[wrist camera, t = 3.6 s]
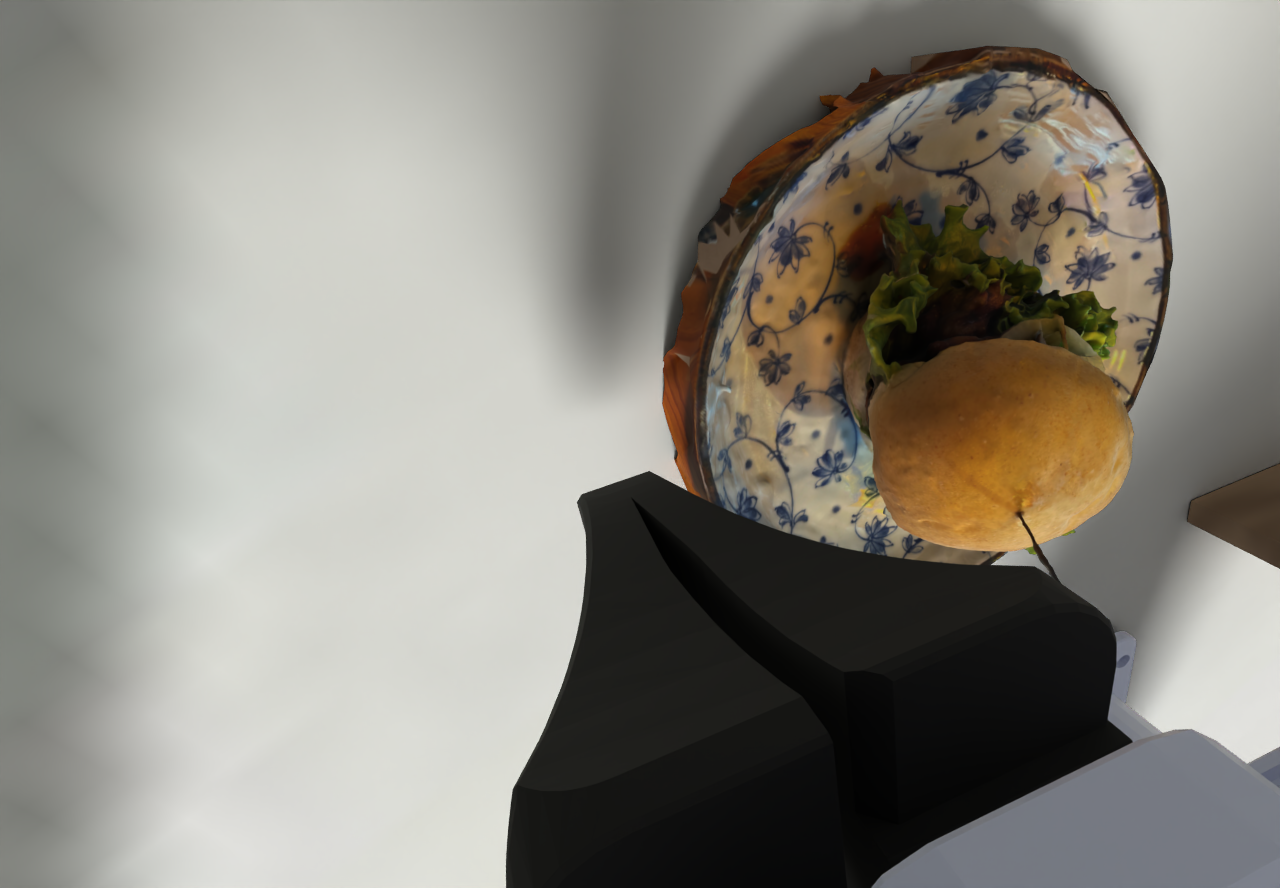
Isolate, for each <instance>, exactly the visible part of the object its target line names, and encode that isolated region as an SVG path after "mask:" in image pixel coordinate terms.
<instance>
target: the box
mask: <svg viewBox="0 0 1280 888" xmlns="http://www.w3.org/2000/svg"><path fill="white" fill-rule="evenodd" d="M1187 522H1189V523H1191V524H1193V525H1195V526H1197V527H1198V528H1200V529H1202V530H1204V531H1206V532H1208V533H1210V534H1212V535H1214V536H1216V537H1218V538H1220V539H1222V540H1224V541H1226V542H1228V543H1230V544H1232V545H1234V546H1236V547H1238V548H1240V549H1242V550H1244V551H1246V552H1248V553H1250V554H1252V555H1254V556H1256V557H1258V558H1260V559H1262V560H1264V561H1266V562H1267V563H1269V564H1271V565H1273V566H1275V567H1277V568H1279V569H1280V464H1278V465H1276V466H1273V467H1271V468H1268V469H1266V470H1264V471H1261V472H1259V473H1256V474H1254V475H1252V476H1249V477H1247V478H1244V479H1242V480H1240V481H1237V482H1235V483H1232V484H1230V485H1228V486H1225V487H1223V488H1220V489H1218V490H1216V491H1213V492H1211V493H1208V494H1206V495H1204V496H1201V497H1199V498H1196V499H1194V500H1192V501H1191V506H1190V511H1189V515H1188V520H1187Z"/></svg>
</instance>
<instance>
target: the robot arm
mask: <svg viewBox="0 0 1280 888" xmlns="http://www.w3.org/2000/svg"><path fill="white" fill-rule="evenodd" d="M577 504H578V508H579V511H580V515H581V518H582V522H583V525H584V529H585V532H586V575H585V586H584V597H583V604H582V611H581V616H580V622H579V626H578V631H577V636H576V640H575V644H574V648H573V651H572V655H571V658H570V662H569V665H568V669H567V672H566V675H565V678H564V681H563V684H562V687H561V689H560V692H559V694H558V697H557V699H556V702H555V704H554V707H553V709H552V712H551V714H550V717H549V719H548V721H547V724H546V726H545V729H544V731H543V733H542V735H541V737H540V739H539V741H538V743H537V745H536V747H535V749H534V751H533V753H532V755H531V756H530V758H529V760H528V762H527V764H526V766H525V768H524V770H523V771H522V773H521V775H520V777H519V779H518V781H517V783H516V784H515V786H514V788H513V792H512V800H511V808H510V817H509V826H508V839H507V853H506V888H1280V747H1279V748H1277V749H1275V750H1273V751H1271V752H1269V753H1267V754H1265V755H1263V756H1261V757H1259V758H1257V759H1255V760H1254V761H1252V762H1250V763H1248V764H1246V763H1245V762H1244V761H1242V760H1241V759H1240V758H1238V757H1237V756H1236V755H1234V754H1233V753H1232V752H1230V751H1229V750H1228V749H1226V748H1225V747H1224V746H1222V745H1221V744H1220V743H1218V742H1217V741H1216V740H1214V739H1211V738H1209V737H1207V736H1205V735H1203V734H1201V733H1199V732H1197V731H1194V730H1192V729H1182V730H1172V731H1169V732H1165V733H1162V732H1161V731H1160V730H1158V729H1157V728H1156V727H1155V726H1153V725H1152V724H1151V723H1149V722H1148V721H1147V720H1146V719H1144V718H1143V717H1142V716H1141V715H1139V714H1138V713H1137V712H1136V711H1134V710H1133V709H1132V708H1131V707H1129V706H1128V705H1127V704H1126V699H1127V693H1128V688H1129V682H1130V677H1131V671H1132V666H1133V661H1134V655H1135V650H1136V639H1135V638H1134V637H1133V636H1132V635H1130V634H1129V633H1127V632H1126V631H1118V632H1115V633H1114V631H1113V628H1112V625H1111V622H1110V620H1109V619H1107V618H1106V617H1105V616H1104V615H1103V614H1102V613H1101V612H1100V611H1099V610H1098V609H1097V608H1095V607H1094V606H1092V605H1091V604H1090V603H1088V602H1087V601H1085V600H1084V599H1082V598H1081V597H1079V596H1078V595H1077V594H1075V593H1074V592H1072V591H1071V590H1069V589H1068V588H1066V587H1065V586H1063V585H1062V584H1061V583H1059V582H1058V581H1056V580H1055V579H1053V578H1052V577H1050V576H1049V575H1047V574H1046V573H1044V572H1043V571H1041V570H1039V569H1038V568H1036V567H1035V566H1002V565H969V564H951V563H941V562H931V561H921V560H912V559H904V558H897V557H890V556H883V555H878V554H873V553H867V552H862V551H857V550H851V549H846V548H842V547H837V546H833V545H829V544H825V543H821V542H817V541H814V540H810V539H807V538H803V537H800V536H796V535H793V534H789V533H786V532H783V531H780V530H777V529H774V528H771V527H769V526H766V525H764V524H761V523H758V522H756V521H753V520H750V519H748V518H745V517H743V516H740V515H738V514H736V513H733V512H731V511H729V510H726V509H724V508H722V507H720V506H717V505H715V504H713V503H711V502H709V501H707V500H705V499H703V498H701V497H699V496H696V495H694V494H692V493H691V492H689V491H687V490H685V489H683V488H681V487H679V486H677V485H675V484H673V483H671V482H669V481H667V480H665V479H664V478H662V477H660V476H658V475H656V474H654V473H652V472H650V471H648V472H645V473H642V474H640V475H637V476H634V477H631V478H628V479H625V480H622V481H619V482H616V483H613V484H610V485H608V486H605V487H602V488H599V489H596V490H593V491H590V492H587V493H584V494H582V495H581V497H580V498H579V500H578V502H577Z"/></svg>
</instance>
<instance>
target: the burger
mask: <svg viewBox="0 0 1280 888" xmlns="http://www.w3.org/2000/svg"><path fill="white" fill-rule="evenodd" d="M820 100H821V102H822V104H823V105H824V106H827V107H828V108H829V109H830V111H831V112H832V113H830V114H829V115H827V116H825V117H824V118H823V119H821V120H820V121H818V122H817V123H815V124H813V125H811V126H808V127H805V128H802V129H800V130H798V131H796V132H794V133H792V134H790V135H789V136H787V137H785V138H784V139H782V140H780V141H779V142H777V143H776V144H774V145H773V146H771V147H770V148H768V149H766V150H765V151H763V152H762V153H761V154H760V155H758V156H757V157H756V158H755V159H753V160H752V161H751V162H749V163H748V164H747V165H746V166H745V167H744V168H743V169H742V171H741V172H739V173H738V174H737V175H736V176H735V177H734V178H733V179H732V182H731V185H730V187H729V188H728V191H727V193H726V195H725V196H724V197H722V198H720V202H721V207H720V210H719V211H718V212H717V213H716V214H715V216H714V217H713V218H712V219H711V220H710V222H709V223H708V224H707V225H706V226H705V227H704V228H702V230H701V231H700V233H699V236H698V262H697V263H696V265H695V267H694V270H693V272H692V277H691V279H690V281H689V282H688V284H687V286H686V287H685V288H684V290H683V291H682V293H681V298H682V303H683V314H682V318H681V321H680V323H679V326H678V329H677V337H676V342H675V345H674V347H673V348H672V349H671V350H669V351H668V352H667V353H666V355H665V357H664V360H663V361H664V368H663V374H664V385H665V389H664V395H663V403H662V404H663V408H664V412H665V416H666V420H667V423H668V426H669V429H670V432H671V435H672V438H673V441H674V444H675V446H676V449H677V452H678V456H677V459H674V460H675V462H676V465H677V467H678V469H679V471H680V474H681V476H682V479H683V481H684V483H685V486H686V488H687V490H688V491H689V492H691V493H692V494H694V495H696V496H699V497H701V498H703V499H705V500H707V501H709V502H711V503H713V504H715V505H717V506H720V507H722V508H724V509H726V510H729V511H731V512H733V513H736V514H738V515H740V516H743V517H745V518H748V519H750V520H753V521H756V522H758V523H761V524H764V525H766V526H769V527H771V528H774V529H777V530H780V531H783V532H786V533H789V534H793V535H796V536H800V537H803V538H807V539H810V540H814V541H817V542H821V543H825V544H829V545H833V546H837V547H842V548H846V549H851V550H857V551H862V552H867V553H873V554H878V555H883V556H890V557H897V558H904V559H912V560H921V561H931V562H941V563H951V564H969V565H991V564H992V563H994V562H995V561H996V560H998V559H999V558H1001V557H1002V556H1004V555H1005V554H1006V553H1008V551H1016V550H1021V549H1026V550H1028V552H1029V553H1030V554H1037V556H1038V558H1039V560H1040V562H1041V563H1042V564H1043V565H1044V566H1045V567H1046V568H1047V569H1048V571H1049V574H1050V576H1051V577H1052V578H1053V579H1055V580H1056V581H1058V582H1059V583H1060V581H1059V579H1058V578H1057V576H1056V574H1055V572H1054V570H1053V568H1052V567H1051V565H1050V564H1049V563H1048V560H1047V559H1046V557H1045V556H1044V555H1043V553H1042V550H1041V549H1040V547H1039V544H1042V543H1044V542H1047V541H1049V540H1051V539H1053V538H1056V537H1059V536H1066V535H1068V534H1070V533H1075V531H1074V529H1075V528H1077V527H1078V526H1079V525H1081V524H1082V523H1084V522H1085V521H1086V520H1087V519H1089V518H1090V517H1092V516H1094V515H1096V514H1097V513H1099V512H1100V511H1101V510H1102V509H1104V508H1105V507H1106V506H1107V505H1108V504H1109V503H1110V502H1111V501H1112V500H1113V498H1114V496H1115V495H1116V494H1117V492H1118V491H1119V490H1120V488H1121V486H1122V484H1123V482H1124V480H1125V478H1126V476H1127V473H1128V470H1129V467H1130V463H1131V459H1132V440H1133V436H1134V432H1133V428H1132V422H1131V420H1130V418H1129V416H1128V412H1129V411H1130V409H1131V408H1132V406H1133V405H1134V402H1135V400H1136V397H1137V395H1138V392H1139V390H1140V388H1141V385H1142V383H1143V380H1144V378H1145V376H1146V373H1147V371H1148V369H1149V367H1150V365H1151V363H1152V361H1153V358H1154V355H1155V352H1156V349H1157V346H1158V342H1159V338H1160V334H1161V330H1162V326H1163V322H1164V318H1165V312H1166V307H1167V302H1168V295H1169V288H1170V271H1171V267H1172V262H1173V251H1172V238H1171V227H1170V217H1169V208H1168V201H1167V195H1166V189H1165V186H1164V184H1163V181H1162V179H1161V177H1160V175H1159V174H1158V172H1157V170H1156V169H1155V167H1154V166H1153V164H1152V162H1151V161H1150V159H1149V158H1148V156H1147V155H1146V153H1145V151H1144V150H1143V148H1142V147H1141V145H1140V144H1139V142H1138V141H1137V139H1136V138H1135V136H1134V135H1133V133H1132V132H1131V130H1130V129H1129V127H1128V125H1127V124H1126V122H1125V120H1124V119H1123V117H1122V116H1121V114H1120V112H1119V111H1118V109H1117V108H1116V106H1115V104H1114V103H1113V101H1112V100H1111V98H1110V96H1109V95H1108V93H1107V92H1106V91H1103V90H1097V89H1095V88H1094V87H1092V86H1091V85H1090V84H1088V83H1087V82H1086V81H1085V80H1084V79H1082V78H1081V77H1080V76H1079V75H1077V74H1076V73H1075V72H1074V71H1073V70H1072V68H1071V66H1070V64H1069V62H1068V60H1067V59H1064V58H1062V57H1060V56H1058V55H1055V54H1052V53H1049V52H1046V51H1043V50H1040V49H1037V48H1021V47H998V46H984V47H978V48H972V49H965V50H958V51H951V52H943V53H935V54H928V55H922V56H914V57H911V74H900V75H886V76H884V75H882V74H881V73H880V72H879V71H878V70H877V69H876V68H875V67H874V68H872V69H871V75H870V78H869V82H867V83H860V84H859V86H858V87H857V88H856V89H855V90H854V91H853V93H851V94H849V95H848V96H847V97H846V98H843V97H842V96H841V95H824V96H820Z"/></svg>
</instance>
